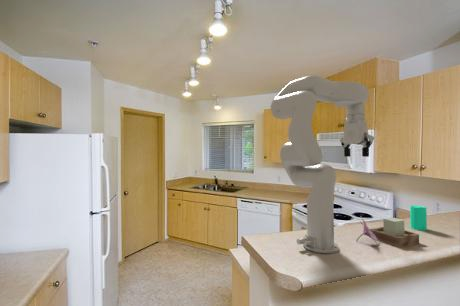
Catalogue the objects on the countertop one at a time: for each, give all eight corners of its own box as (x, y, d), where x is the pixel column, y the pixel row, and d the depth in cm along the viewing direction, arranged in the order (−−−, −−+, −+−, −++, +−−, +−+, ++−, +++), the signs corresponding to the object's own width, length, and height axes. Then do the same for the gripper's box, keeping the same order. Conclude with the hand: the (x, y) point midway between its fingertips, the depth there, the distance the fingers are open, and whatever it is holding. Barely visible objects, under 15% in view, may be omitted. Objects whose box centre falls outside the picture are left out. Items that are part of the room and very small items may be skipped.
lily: (367, 253, 86) (381, 231, 85) (340, 232, 96) (353, 212, 94) (379, 255, 93) (393, 235, 92) (353, 235, 103) (365, 217, 101)
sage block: (395, 237, 93) (395, 221, 93) (383, 233, 98) (383, 218, 98) (404, 235, 94) (404, 220, 95) (392, 231, 99) (392, 217, 99)
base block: (398, 248, 89) (398, 238, 89) (369, 238, 100) (369, 229, 100) (419, 244, 93) (418, 234, 93) (389, 234, 104) (389, 225, 104)
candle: (429, 230, 108) (429, 204, 108) (415, 230, 109) (415, 204, 109) (421, 226, 114) (421, 202, 114) (407, 226, 115) (407, 201, 115)
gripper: (334, 121, 114) (335, 156, 114) (366, 115, 98) (367, 156, 98) (346, 122, 117) (346, 156, 117) (379, 116, 101) (379, 156, 100)
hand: (356, 156), depth 107 cm, fingers open, 9 cm apart
